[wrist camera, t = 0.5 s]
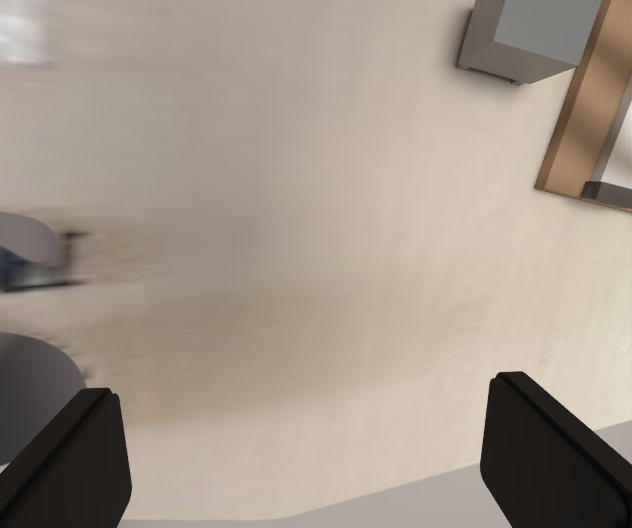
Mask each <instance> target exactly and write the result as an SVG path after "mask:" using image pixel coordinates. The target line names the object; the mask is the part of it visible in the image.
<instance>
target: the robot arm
mask: <svg viewBox="0 0 632 528" xmlns="http://www.w3.org/2000/svg"><path fill="white" fill-rule="evenodd" d="M480 472H481V476H482V479H483V481H484V483H485V484H486V486H487V488H488V489H489V491H490V492H491V494H492V496H493V497H494V499H495V500H496V502H497V504H498V505H499V507H500V509H501V510H502V512H503V513H504V515H505V517H506V518H507V520H508V521H509V523H510V525H511V526H512V528H632V465H631V464H630V463H629V462H628V461H627V460H625V459H624V458H623V457H622V456H621V455H620V454H618V453H617V452H616V451H615V450H614V449H613V448H612V447H610V446H609V445H608V444H607V443H606V442H604V440H602V439H601V438H600V437H599V436H598V435H596V434H595V433H594V432H593V431H592V430H591V429H590V428H588V427H587V426H586V425H585V424H584V423H583V422H581V421H580V420H579V419H578V418H577V417H576V416H574V415H573V414H572V413H571V412H570V411H569V410H567V409H566V408H565V407H564V406H563V405H562V404H561V403H559V402H558V401H557V400H556V399H555V398H554V397H552V396H551V395H550V394H549V393H548V392H547V391H545V390H544V389H543V388H542V387H541V386H540V385H538V384H537V383H536V382H535V381H534V380H533V379H531V378H530V377H529V376H528V375H527V374H526V373H524V372H521V371H517V372H499V373H498V374H497V375H496V378H493V379H491V381H490V385H489V394H488V402H487V411H486V419H485V427H484V436H483V444H482V453H481V461H480ZM131 492H132V482H131V476H130V469H129V462H128V455H127V448H126V441H125V434H124V427H123V421H122V414H121V407H120V400H119V396H118V395H117V394H116V393H115V394H112V391H111V390H110V389H109V388H86V389H82V390H80V391H79V392H78V393H77V394H76V395H75V396H74V397H73V398H72V399H71V400H70V401H69V402H68V404H66V406H65V407H64V408H63V409H62V410H61V411H60V412H59V413H58V414H57V415H56V416H55V417H54V418H53V419H52V420H51V421H50V422H49V423H48V425H46V426H45V428H44V429H43V430H42V431H41V432H40V433H39V434H38V435H37V436H36V437H35V438H34V439H33V440H32V441H31V442H30V443H29V444H28V445H27V446H26V447H25V448H24V449H23V450H22V452H21V453H20V454H19V455H18V456H17V457H16V458H15V459H14V460H13V461H12V462H11V463H10V464H9V465H8V466H7V467H6V468H5V469H4V470H3V471H2V472H1V473H0V528H117V526H118V524H119V522H120V520H121V518H122V516H123V514H124V511H125V509H126V507H127V505H128V503H129V501H130V497H131Z"/></svg>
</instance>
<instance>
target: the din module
mask: <svg viewBox="0 0 632 528" xmlns="http://www.w3.org/2000/svg"><path fill="white" fill-rule="evenodd" d="M601 1H602V0H477V1H476V2H475V5H474V9H473V12H472V16H471V19H470V23H469V26H468V30H467V33H466V37H465V40H464V44H463V47H462V51H461V54H460V58H459V61H458V67H457V68H458V69H461V70H466V69H467V68H469V67H471V68H475V69H478V70H482V71H485V72H489V73H492V74H496V75H499V76H503V77H506V78H510V79H512V82H511V84H514V85H521V84H523V83H527V84H531V83H534V82H537V81H539V80H542V79H545V78H548V77H550V76H553V75H556V74H558V73H561V72H564V71H567V70H569V69H572V68H575V67H578V66H579V64H580V61H581V58H582V55H583V52H584V49H585V47H586V44H587V41H588V38H589V35H590V32H591V29H592V27H593V24H594V21H595V18H596V15H597V12H598V10H599V7H600V4H601Z"/></svg>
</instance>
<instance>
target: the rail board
mask: <svg viewBox="0 0 632 528" xmlns="http://www.w3.org/2000/svg"><path fill="white" fill-rule="evenodd" d="M535 188H536V189H540V190H544V191H548V192H552V193H556V194H560V195H564V196H568V197H572V198H576V199H580V200H584V201H588V202H592V203H596V204H600V205H604V206H608V207H612V208H616V209H620V210H624V211H628V212H632V0H602V1H601V4H600V7H599V10H598V12H597V15H596V18H595V21H594V24H593V27H592V29H591V32H590V35H589V38H588V41H587V44H586V47H585V49H584V52H583V55H582V58H581V61H580V64H579V66H578V67H577V68H576V71H575V74H574V77H573V80H572V82H571V85H570V88H569V91H568V94H567V97H566V100H565V102H564V105H563V108H562V111H561V114H560V117H559V119H558V122H557V125H556V128H555V131H554V134H553V137H552V139H551V142H550V145H549V148H548V151H547V154H546V156H545V159H544V162H543V165H542V168H541V171H540V174H539V176H538V179H537V182H536V185H535Z"/></svg>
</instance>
